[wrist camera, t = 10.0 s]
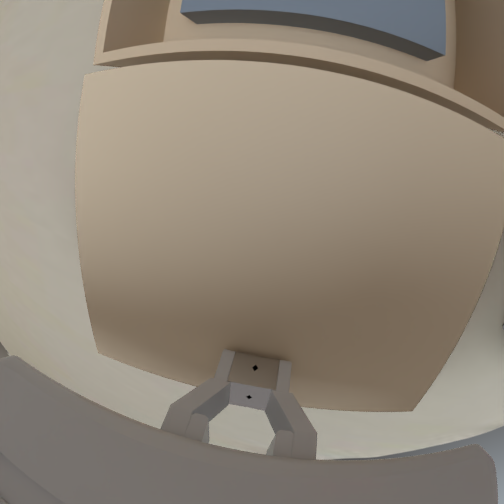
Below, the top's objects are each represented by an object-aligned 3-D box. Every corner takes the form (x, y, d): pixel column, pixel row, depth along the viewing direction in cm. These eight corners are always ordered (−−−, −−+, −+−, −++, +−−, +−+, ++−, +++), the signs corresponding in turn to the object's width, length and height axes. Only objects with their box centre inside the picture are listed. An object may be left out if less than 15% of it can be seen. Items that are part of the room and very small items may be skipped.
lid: (412, 411, 12) (409, 402, 12) (517, 146, 6) (508, 146, 7) (98, 352, 13) (104, 345, 14) (84, 74, 8) (94, 76, 9)
